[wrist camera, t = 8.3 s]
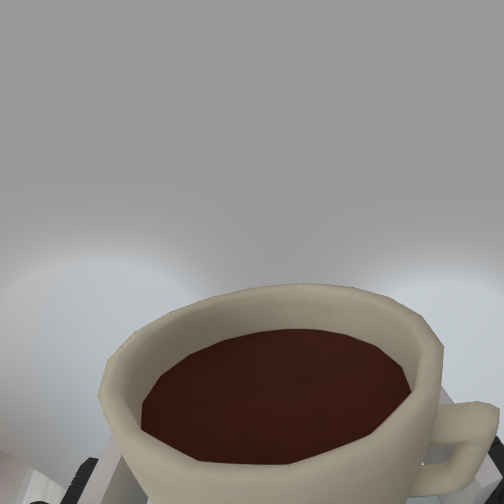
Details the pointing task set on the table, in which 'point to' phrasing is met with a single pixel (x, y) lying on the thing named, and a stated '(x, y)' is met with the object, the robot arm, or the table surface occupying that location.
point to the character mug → (290, 402)
